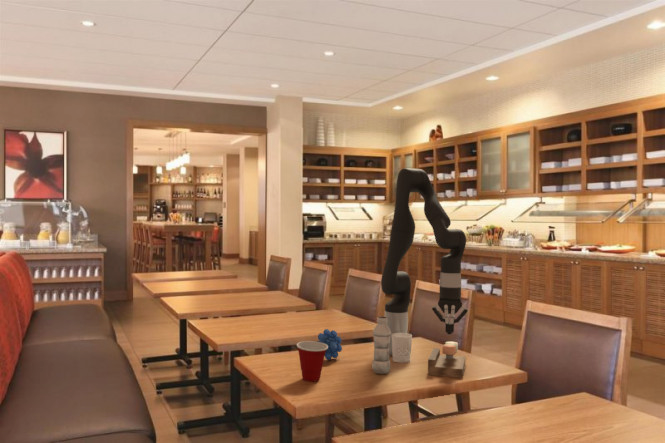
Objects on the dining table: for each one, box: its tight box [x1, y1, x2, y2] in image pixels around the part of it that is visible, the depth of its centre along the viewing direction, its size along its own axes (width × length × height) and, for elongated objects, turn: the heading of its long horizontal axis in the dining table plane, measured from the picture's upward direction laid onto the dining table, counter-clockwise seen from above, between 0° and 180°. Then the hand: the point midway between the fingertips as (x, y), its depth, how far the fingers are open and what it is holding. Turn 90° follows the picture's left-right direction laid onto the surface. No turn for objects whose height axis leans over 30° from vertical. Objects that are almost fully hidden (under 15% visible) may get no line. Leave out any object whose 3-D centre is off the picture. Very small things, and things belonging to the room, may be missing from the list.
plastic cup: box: [296, 340, 328, 383], centre depth 197 cm, size 11×11×12 cm
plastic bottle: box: [371, 315, 391, 375], centre depth 205 cm, size 6×7×20 cm
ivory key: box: [444, 341, 459, 351], centre depth 217 cm, size 5×5×4 cm
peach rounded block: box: [442, 344, 457, 359], centre depth 206 cm, size 5×5×4 cm
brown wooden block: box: [427, 347, 466, 379], centre depth 212 cm, size 12×18×5 cm, turn 164°
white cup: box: [392, 332, 413, 364], centre depth 223 cm, size 8×8×10 cm
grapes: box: [316, 328, 343, 361], centre depth 222 cm, size 12×7×12 cm, turn 123°
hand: (449, 333), depth 205 cm, fingers closed
